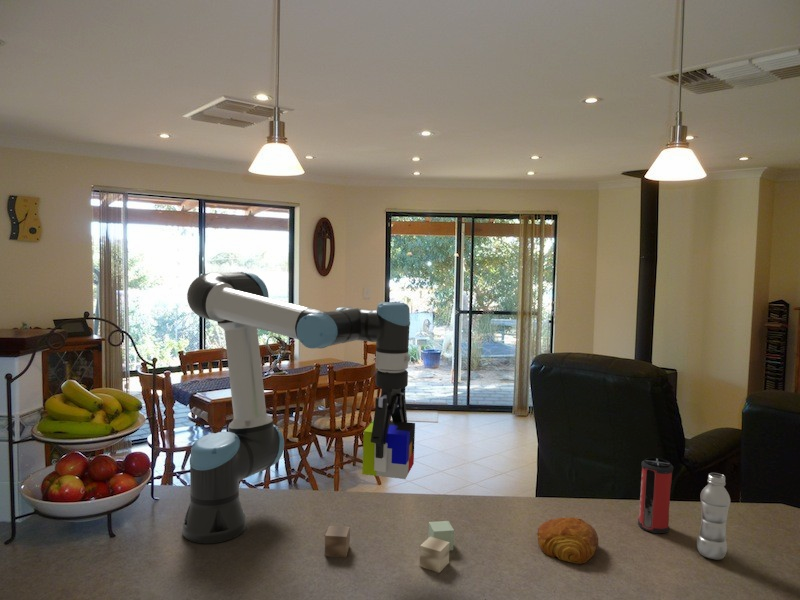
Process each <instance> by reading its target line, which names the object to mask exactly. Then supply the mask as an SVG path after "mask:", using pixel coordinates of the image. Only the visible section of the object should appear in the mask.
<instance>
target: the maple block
mask: <svg viewBox="0 0 800 600" xmlns="http://www.w3.org/2000/svg"><path fill="white" fill-rule="evenodd" d="M449 545H450V542H447V541H444V540H440V539H437V538H433V537H429V538H428V537H427V539H426V540H424V541H423V542H422V544H420V545H419V567H420V568H422V569H423V568H424V569H426V570H429V571H433V572H436V573H439V574H440V573H441V572H442V571H443V569H445V568H446V567H447V566H448V565H449V563H450V561H449V560H450V550H449Z"/></svg>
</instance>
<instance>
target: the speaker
mask: <svg viewBox="0 0 800 600" xmlns="http://www.w3.org/2000/svg"><path fill="white" fill-rule="evenodd" d="M674 469H675V468H674V466H673V465H672V463H671V462H670V461H668V460H667V459H663V458H657V457H647V458H645V459H644V460H642V461H641V479H640V496H639V508H638V509H639V513H638V519H637V525H638V526H639V527H640V528H641V529H642V530H644V531H647V532H650V533H652V534H665V533H668V532H669V531H670V526H669V524H670V523H669V522H670V502H671V500H670V499H671V490H672V489H671V488H672V486H671V485H672V479H673V472H674V471H673V470H674Z"/></svg>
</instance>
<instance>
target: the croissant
mask: <svg viewBox="0 0 800 600" xmlns="http://www.w3.org/2000/svg"><path fill="white" fill-rule="evenodd" d="M536 536H537V541H538V542H537V543H538V547H539V548H540V549H541V551H542V552H543V553H544V554H545V555H547V556H549V557H550V558H556V557H557V559H559V560H561V561H565V562H568V563H572V564H576V565H578V564H579V565H580V564H584V563H587V562H588V561H589V560H590V559H591V558H592V557H594V555H595V552H596V549H597V547H598V546H599V536H598V533H597V531H596V529H595V528H594V527H593V526H592V525H591V524H589V523H588V522H586V521H585V520H583V519H582V518H579V517H568V516H567V517H558V518H553V519H549V520H546V521H545V522H544V523H541V524H540V525H539V526H538V528H537V533H536Z"/></svg>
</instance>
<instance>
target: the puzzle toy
mask: <svg viewBox="0 0 800 600" xmlns="http://www.w3.org/2000/svg"><path fill="white" fill-rule="evenodd" d="M372 428H373V421H372V422H370V424H369V425H368V426H367V427H366V428H365V429H364V430H363V438H362V439H363V440H362V443H363V445H362V470H361V471H362V475H365V476H366V475H367V476H375V477H383V478H393V479H402V480H406V479H407V478H408V476H409V473H410V471H411V469H413V465H414V461H415V440H416V439H415V437H416V436H415V435H416V434H415V433H416V432H415V431H416V422H408V421H407V422H398V421H392V420H390V424H389V429H388V433H387V438H386V443H387V471H386V472H380V471H374V459H375V443H372V442H371V436H372ZM378 438H379V437H378Z"/></svg>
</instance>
